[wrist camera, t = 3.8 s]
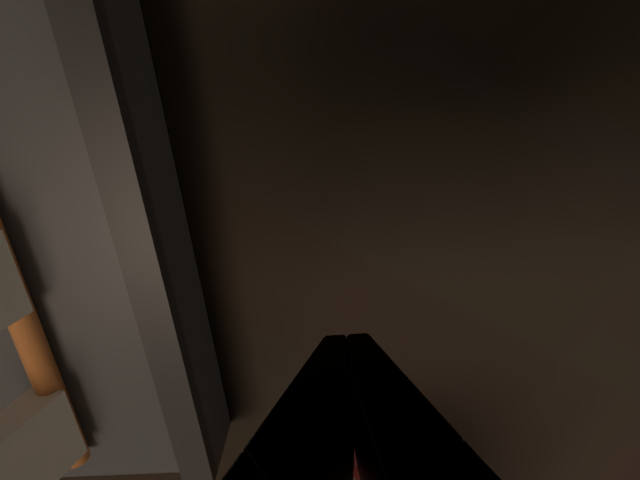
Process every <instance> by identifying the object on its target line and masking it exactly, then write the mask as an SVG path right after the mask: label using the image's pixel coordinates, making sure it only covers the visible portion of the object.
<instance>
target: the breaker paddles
mask: <svg viewBox="0 0 640 480" xmlns="http://www.w3.org/2000/svg"><path fill="white" fill-rule="evenodd" d="M5 328H8V330H9V333H10V335H11V337H12V340H13V342H14V345H15V347H16V349H17V352H18V354H19V357H20V359H21V361H22V364H23V366H24V368H25V371H26V373H27V376H28V378H29V380H30V383H31V385H32V387H30V388H29V389H28V390H27V391H25V392H24V393H23V394H21V395H20V396H19V397H17V398H16V399H15V400H14V401H12V402H11V403H10V404H8V405H7V406H6V407H4V408H3V409H2V410H0V480H59V479H60V478H61V477H62V476H63V475H64V474H65V473H66V472H67V471H68V470H69V469H73V468H77V467H79V466H81V465H83V464H84V463H86V462H87V461H88V459H89V458H90V455H91V452H90V450H89V447H88V444H87V442H86V439H85V437H84V434H83V431H82V429H81V426H80V424H79V421H78V418H77V416H76V413H75V411H74V408H73V405H72V403H71V400H70V397H69V395H68V392H67V390H66V387H65V384H64V382H63V379H62V377H61V374H60V371H59V369H58V366H57V364H56V361H55V358H54V356H53V353H52V350H51V348H50V345H49V343H48V340H47V337H46V335H45V332H44V330H43V327H42V324H41V322H40V319H39V317H38V314H37V311H36V309H35V306H34V303H33V301H32V298H31V296H30V293H29V290H28V288H27V285H26V283H25V280H24V277H23V275H22V272H21V270H20V267H19V264H18V262H17V259H16V257H15V254H14V251H13V249H12V246H11V243H10V241H9V238H8V236H7V233H6V230H5V228H4V225H3V223H2V220H1V217H0V331H2V330H3V329H5Z"/></svg>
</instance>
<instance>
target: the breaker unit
mask: <svg viewBox="0 0 640 480" xmlns="http://www.w3.org/2000/svg"><path fill="white" fill-rule="evenodd" d="M0 217H1V220H2V223H3V225H4V228H5V230H6V233H7V236H8V238H9V241H10V243H11V246H12V249H13V251H14V254H15V257H16V259H17V262H18V264H19V267H20V270H21V272H22V275H23V277H24V280H25V283H26V285H27V288H28V290H29V293H30V296H31V298H32V301H33V303H34V306H35V309H36V311H37V314H38V317H39V319H40V322H41V324H42V327H43V330H44V332H45V335H46V337H47V340H48V343H49V345H50V348H51V350H52V353H53V356H54V358H55V361H56V364H57V366H58V369H59V371H60V374H61V377H62V379H63V382H64V384H65V387H66V390H67V392H68V395H69V397H70V400H71V403H72V405H73V408H74V411H75V413H76V416H77V418H78V421H79V424H80V426H81V429H82V431H83V434H84V437H85V439H86V442H87V444H88V447H89V450H90V452H91V455H90V458H89V459H88V461H87V462H86V463H84V464H83V465H81V466H79V467H77V468H73V469H69V470H68V471H67V472H66V473H65V474H64V475H63V476H62V477H76V476H100V475H124V474H147V473H171V472H180V475H181V479H182V480H215V478H216V475H217V471H218V467H219V464H220V460H221V456H222V453H223V449H224V445H225V442H226V438H227V434H228V431H229V427H230V423H231V422H230V417H229V413H228V408H227V403H226V399H225V394H224V389H223V385H222V380H221V376H220V371H219V366H218V362H217V357H216V352H215V348H214V343H213V339H212V334H211V329H210V325H209V320H208V315H207V311H206V306H205V302H204V297H203V292H202V288H201V283H200V278H199V274H198V269H197V265H196V260H195V255H194V251H193V246H192V241H191V237H190V232H189V228H188V223H187V218H186V214H185V209H184V205H183V200H182V195H181V191H180V186H179V181H178V177H177V172H176V168H175V163H174V158H173V154H172V149H171V144H170V140H169V135H168V131H167V126H166V121H165V117H164V112H163V107H162V103H161V98H160V94H159V89H158V84H157V80H156V75H155V70H154V66H153V61H152V57H151V52H150V47H149V43H148V38H147V33H146V29H145V24H144V20H143V15H142V10H141V6H140V1H139V0H0ZM30 387H32V385H31V383H30V380H29V378H28V376H27V373H26V371H25V368H24V366H23V364H22V361H21V359H20V357H19V354H18V352H17V349H16V347H15V345H14V342H13V340H12V337H11V335H10V333H9V330H8V328H5V329H3V330H2V331H0V410H2V409H3V408H4V407H6V406H7V405H8V404H10V403H11V402H12V401H14V400H15V399H16V398H17V397H19V396H20V395H21V394H23V393H24V392H25V391H27V390H28V389H29V388H30Z"/></svg>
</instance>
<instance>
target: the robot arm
mask: <svg viewBox="0 0 640 480" xmlns="http://www.w3.org/2000/svg"><path fill="white" fill-rule="evenodd" d="M353 433H354V436H353ZM354 445H355V454H356V460H357V467H358V472H359V477H360V480H501V479H500V478H499V477H498V476H497V475H496V474H495V473H494V472H493V471H492V470H491V468H490V467H489V466H488V465H487V464H486V463H485V462H484V461H483V460H482V459H481V458H480V457H479V456H478V455H477V454H476V453H475V451H474V450H473V449H472V448H471V447H470V446H469V445H468V444H467V442H465V441H463V439H462V437H461V436H460V435H459V434H458V433H457V432H456V431H455V429H454V428H453V427H452V426H451V425H450V424H449V423H448V422H447V421H446V419H445V418H444V417H443V416H442V415H441V414H440V413H439V412H438V411H437V409H436V408H435V407H434V406H433V405H432V404H431V403H430V402H429V401H428V399H427V398H426V397H425V396H424V395H423V394H422V393H421V392H420V391H419V389H418V388H417V387H416V386H415V385H414V384H413V383H412V382H411V381H410V380H409V378H408V377H407V376H406V375H405V374H404V373H403V372H402V371H401V370H400V368H399V367H398V366H397V365H396V364H395V363H394V362H393V361H392V360H391V358H390V357H389V356H388V355H387V354H386V353H385V352H384V351H383V350H382V348H381V347H380V346H379V345H378V344H377V343H376V342H375V341H374V340H373V338H372V337H371V336H370V335H369V334H367V333H361V334H349V335H348V336H347V339H346V336H345V335H331V336H325V337H324V338H323V339H322V341H321V342H320V344H319V345H318V346H317V348H316V349H315V350H314V352H313V353H312V355H311V356H310V357H309V359H308V360H307V362H306V363H305V364H304V366H303V367H302V369H301V370H300V371H299V373H298V374H297V375H296V377H295V378H294V380H293V381H292V382H291V384H290V385H289V387H288V388H287V389H286V391H285V392H284V394H283V395H282V396H281V398H280V399H279V400H278V402H277V403H276V405H275V406H274V407H273V409H272V410H271V412H270V413H269V414H268V416H267V417H266V419H265V420H264V421H263V423H262V424H261V425H260V427H259V428H258V430H257V431H256V432H255V434H254V435H253V437H252V438H251V439H250V441H249V442H248V444H247V445H246V446H245V448H244V449H243V452H241V453H240V454H239V456H238V457H237V459H236V460H235V461H234V463H233V464H232V465H231V467H230V468H229V470H228V471H227V472H226V473H225V475H224V476H223V477H222V479H221V480H353V473H354Z"/></svg>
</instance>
